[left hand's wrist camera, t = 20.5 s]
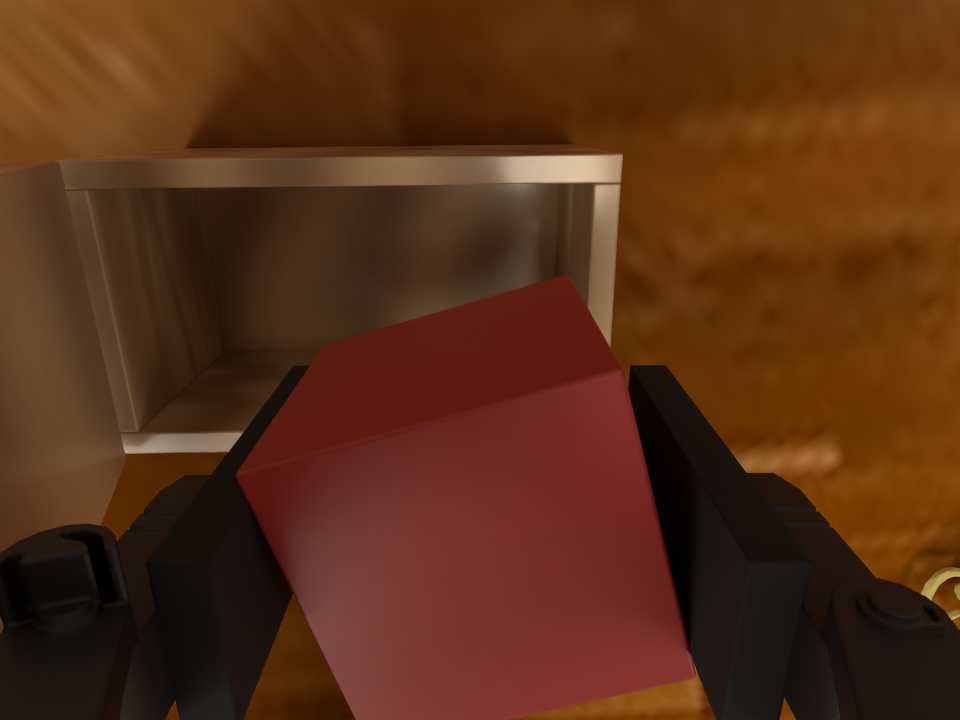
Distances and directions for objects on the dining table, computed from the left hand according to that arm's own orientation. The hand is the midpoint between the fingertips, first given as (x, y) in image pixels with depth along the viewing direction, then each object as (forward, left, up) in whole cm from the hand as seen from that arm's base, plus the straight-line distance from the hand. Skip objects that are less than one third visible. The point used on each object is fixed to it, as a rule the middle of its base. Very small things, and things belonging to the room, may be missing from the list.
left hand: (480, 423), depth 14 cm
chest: (+3, +2, -17) cm, 18 cm away
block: (0, 0, 0) cm, 0 cm away
